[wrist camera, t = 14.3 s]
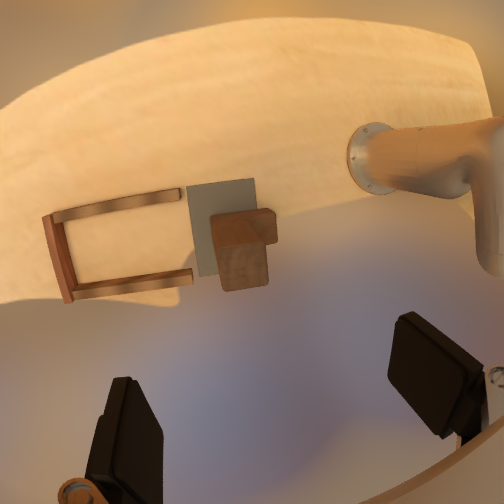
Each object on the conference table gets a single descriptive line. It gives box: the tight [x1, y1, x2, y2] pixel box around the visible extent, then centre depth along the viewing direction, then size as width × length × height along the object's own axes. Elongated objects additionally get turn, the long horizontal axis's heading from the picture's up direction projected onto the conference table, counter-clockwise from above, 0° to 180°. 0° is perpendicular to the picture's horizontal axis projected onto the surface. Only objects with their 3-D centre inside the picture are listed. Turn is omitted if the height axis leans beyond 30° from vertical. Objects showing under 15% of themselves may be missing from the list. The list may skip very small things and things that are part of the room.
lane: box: [42, 188, 193, 304], centre depth 40 cm, size 22×14×4 cm, turn 96°
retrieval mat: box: [186, 178, 257, 277], centre depth 44 cm, size 10×14×1 cm
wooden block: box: [210, 208, 278, 292], centre depth 36 cm, size 9×4×18 cm, turn 96°
